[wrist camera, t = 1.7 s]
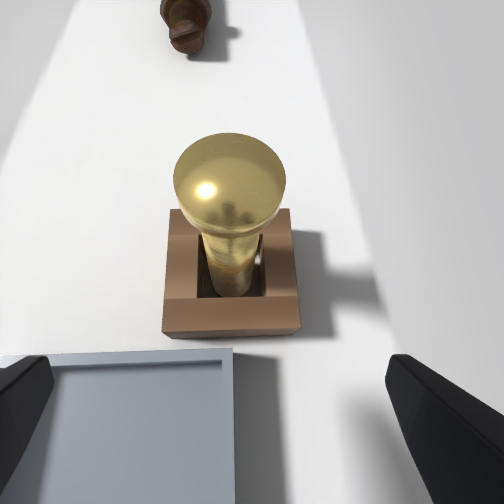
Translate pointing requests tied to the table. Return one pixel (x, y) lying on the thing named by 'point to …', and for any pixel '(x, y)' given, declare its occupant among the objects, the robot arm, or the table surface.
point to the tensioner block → (230, 308)
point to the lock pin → (229, 202)
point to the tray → (132, 430)
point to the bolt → (186, 23)
